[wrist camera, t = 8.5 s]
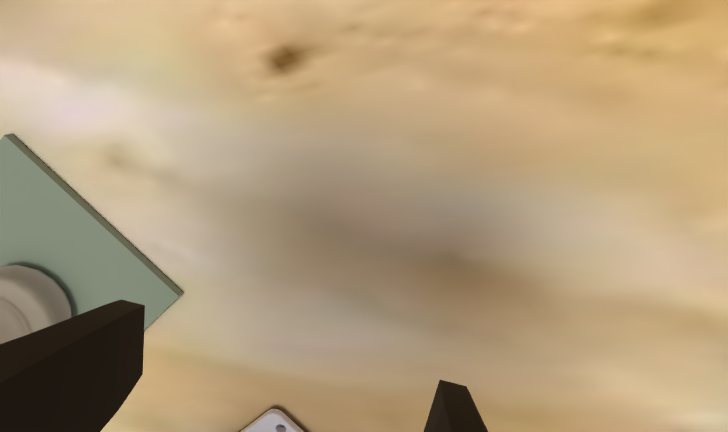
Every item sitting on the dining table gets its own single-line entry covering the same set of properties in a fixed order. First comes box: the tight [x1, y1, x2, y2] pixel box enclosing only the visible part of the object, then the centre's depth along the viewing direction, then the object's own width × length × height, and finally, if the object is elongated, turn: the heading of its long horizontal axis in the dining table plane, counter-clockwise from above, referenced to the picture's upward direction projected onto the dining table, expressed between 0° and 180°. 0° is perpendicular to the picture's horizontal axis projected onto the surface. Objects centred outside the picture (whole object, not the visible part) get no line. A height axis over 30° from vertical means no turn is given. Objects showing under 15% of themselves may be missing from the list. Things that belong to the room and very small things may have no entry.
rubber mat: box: [0, 134, 183, 330], centre depth 23 cm, size 10×10×1 cm
